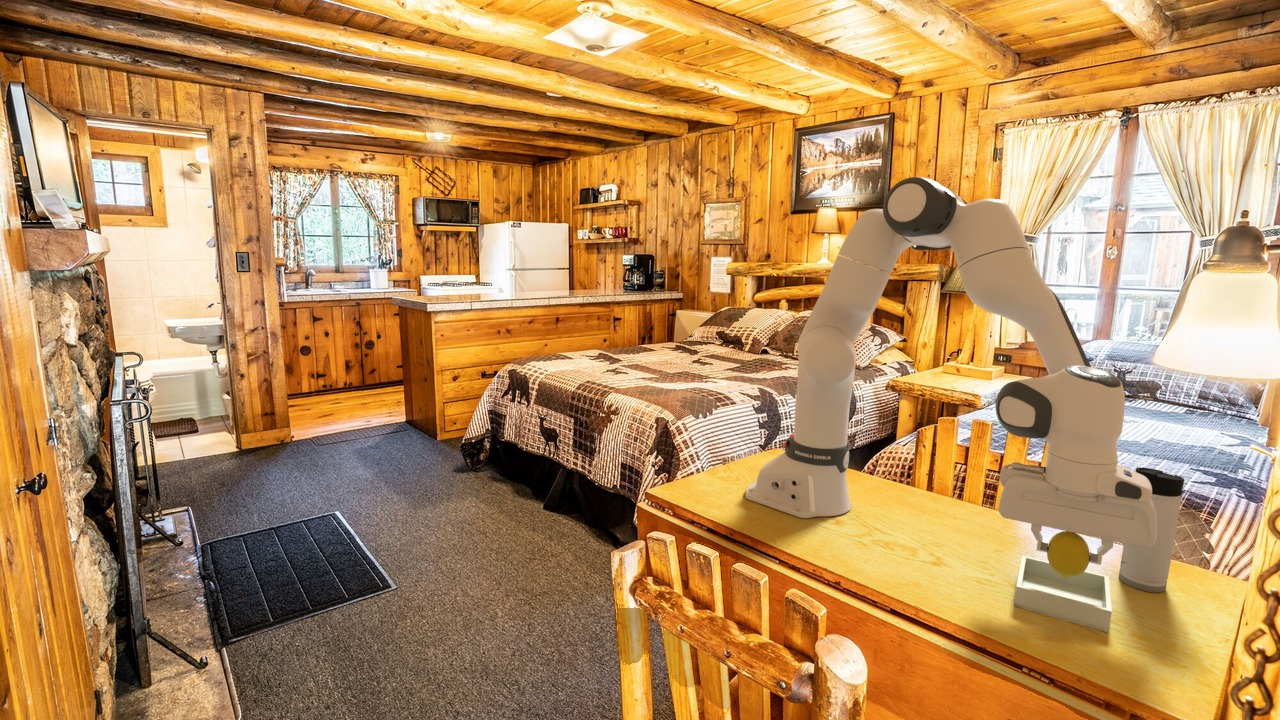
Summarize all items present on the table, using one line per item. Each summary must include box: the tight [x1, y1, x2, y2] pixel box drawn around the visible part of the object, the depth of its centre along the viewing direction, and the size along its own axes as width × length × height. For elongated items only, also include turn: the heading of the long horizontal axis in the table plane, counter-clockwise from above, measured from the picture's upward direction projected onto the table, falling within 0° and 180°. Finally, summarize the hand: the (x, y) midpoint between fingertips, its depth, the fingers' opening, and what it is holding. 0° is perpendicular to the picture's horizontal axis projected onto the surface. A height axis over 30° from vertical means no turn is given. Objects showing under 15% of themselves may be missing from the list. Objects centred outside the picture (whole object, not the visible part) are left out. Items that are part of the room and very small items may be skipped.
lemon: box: [1046, 530, 1090, 578], centre depth 99 cm, size 6×6×8 cm
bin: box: [1013, 554, 1113, 634], centre depth 100 cm, size 12×12×3 cm
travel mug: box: [1118, 467, 1185, 593], centre depth 104 cm, size 6×7×20 cm
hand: (1067, 556), depth 100 cm, fingers closed on lemon, 5 cm apart
